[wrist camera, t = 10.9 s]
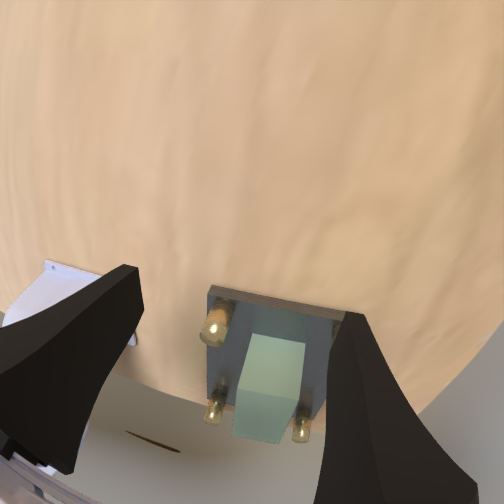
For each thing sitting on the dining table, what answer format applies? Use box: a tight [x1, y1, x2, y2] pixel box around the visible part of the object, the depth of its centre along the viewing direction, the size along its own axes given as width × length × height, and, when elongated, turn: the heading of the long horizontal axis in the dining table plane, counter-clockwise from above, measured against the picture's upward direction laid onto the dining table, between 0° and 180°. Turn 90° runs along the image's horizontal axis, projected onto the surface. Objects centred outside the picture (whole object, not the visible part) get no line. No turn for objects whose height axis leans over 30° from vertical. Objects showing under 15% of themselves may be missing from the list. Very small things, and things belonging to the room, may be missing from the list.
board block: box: [232, 333, 306, 444], centre depth 23 cm, size 4×8×5 cm, turn 174°
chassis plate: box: [200, 285, 346, 443], centre depth 25 cm, size 11×15×4 cm
